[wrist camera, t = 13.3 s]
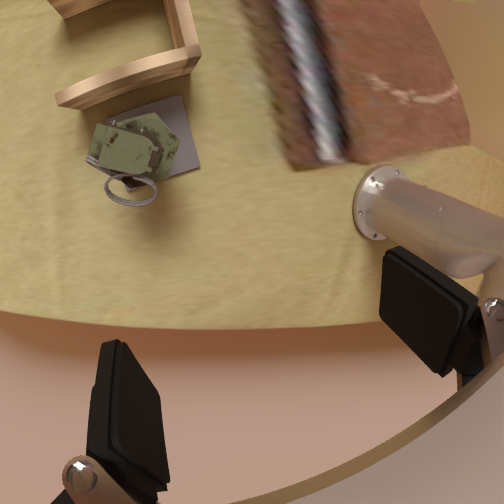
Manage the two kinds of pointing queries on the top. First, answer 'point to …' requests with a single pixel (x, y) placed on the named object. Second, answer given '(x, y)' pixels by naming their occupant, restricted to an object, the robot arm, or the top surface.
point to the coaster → (177, 121)
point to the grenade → (134, 153)
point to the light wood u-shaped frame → (140, 71)
